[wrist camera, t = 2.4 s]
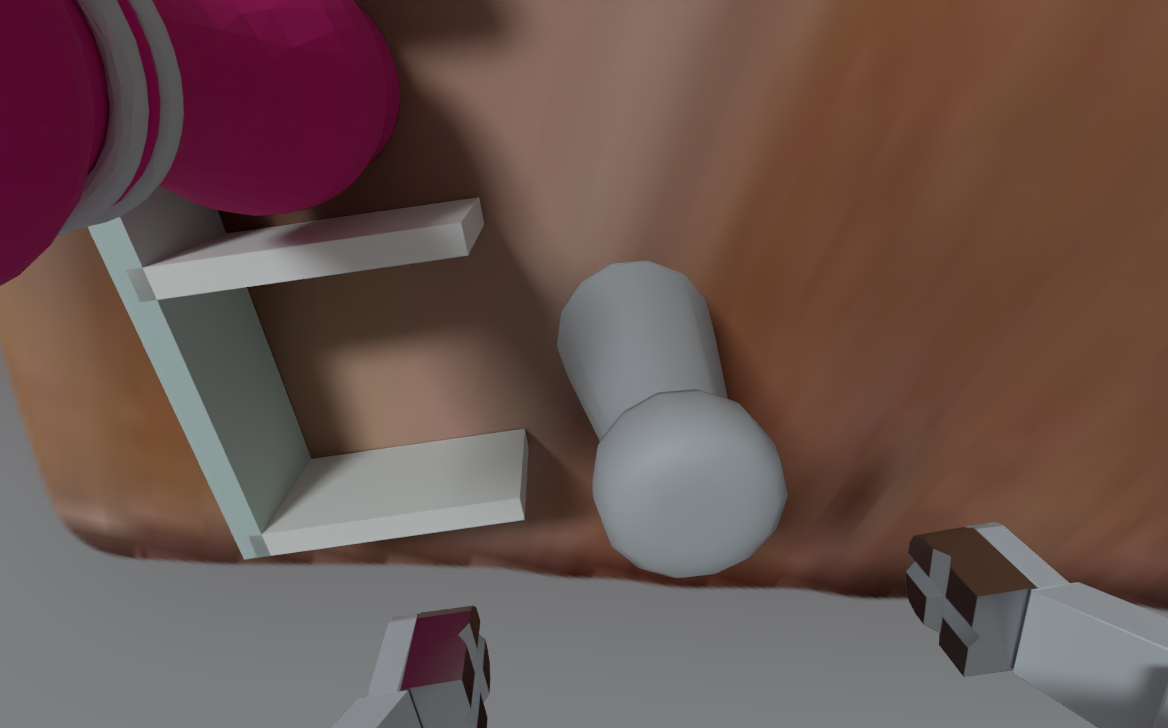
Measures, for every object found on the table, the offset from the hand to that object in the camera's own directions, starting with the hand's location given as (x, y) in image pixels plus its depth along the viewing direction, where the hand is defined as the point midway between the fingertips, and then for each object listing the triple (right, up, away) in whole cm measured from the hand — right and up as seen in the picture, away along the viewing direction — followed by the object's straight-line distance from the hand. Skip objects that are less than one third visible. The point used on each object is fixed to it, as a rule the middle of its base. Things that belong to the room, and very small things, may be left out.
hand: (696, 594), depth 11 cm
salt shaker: (0, +6, +13) cm, 15 cm away
